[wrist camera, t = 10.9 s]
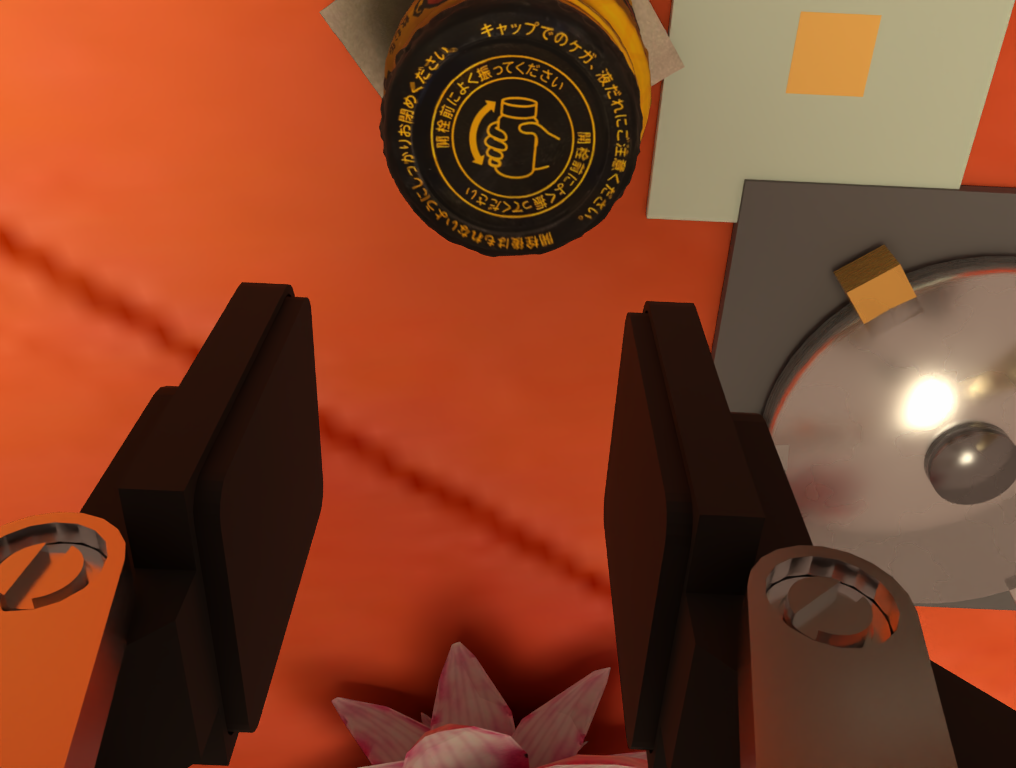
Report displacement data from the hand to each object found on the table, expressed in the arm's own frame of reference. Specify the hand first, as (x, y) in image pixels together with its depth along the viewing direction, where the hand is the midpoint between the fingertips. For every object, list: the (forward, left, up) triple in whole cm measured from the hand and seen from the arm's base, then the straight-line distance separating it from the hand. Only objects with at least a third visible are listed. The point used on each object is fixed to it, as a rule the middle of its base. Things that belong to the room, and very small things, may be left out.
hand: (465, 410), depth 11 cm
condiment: (0, 0, -21) cm, 21 cm away
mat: (0, -10, -21) cm, 23 cm away
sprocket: (-13, -17, -21) cm, 30 cm away
